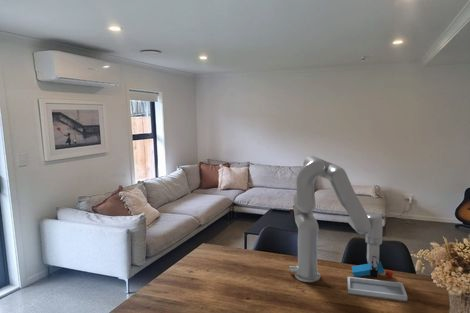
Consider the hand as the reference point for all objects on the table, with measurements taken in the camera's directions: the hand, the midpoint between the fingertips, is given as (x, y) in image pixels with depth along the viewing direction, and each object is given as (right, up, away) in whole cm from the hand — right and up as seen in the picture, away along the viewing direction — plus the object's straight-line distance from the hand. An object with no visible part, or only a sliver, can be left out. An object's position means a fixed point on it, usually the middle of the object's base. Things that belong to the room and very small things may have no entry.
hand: (373, 273), depth 165 cm
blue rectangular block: (0, -1, 0) cm, 2 cm away
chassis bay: (-5, -3, -14) cm, 15 cm away
